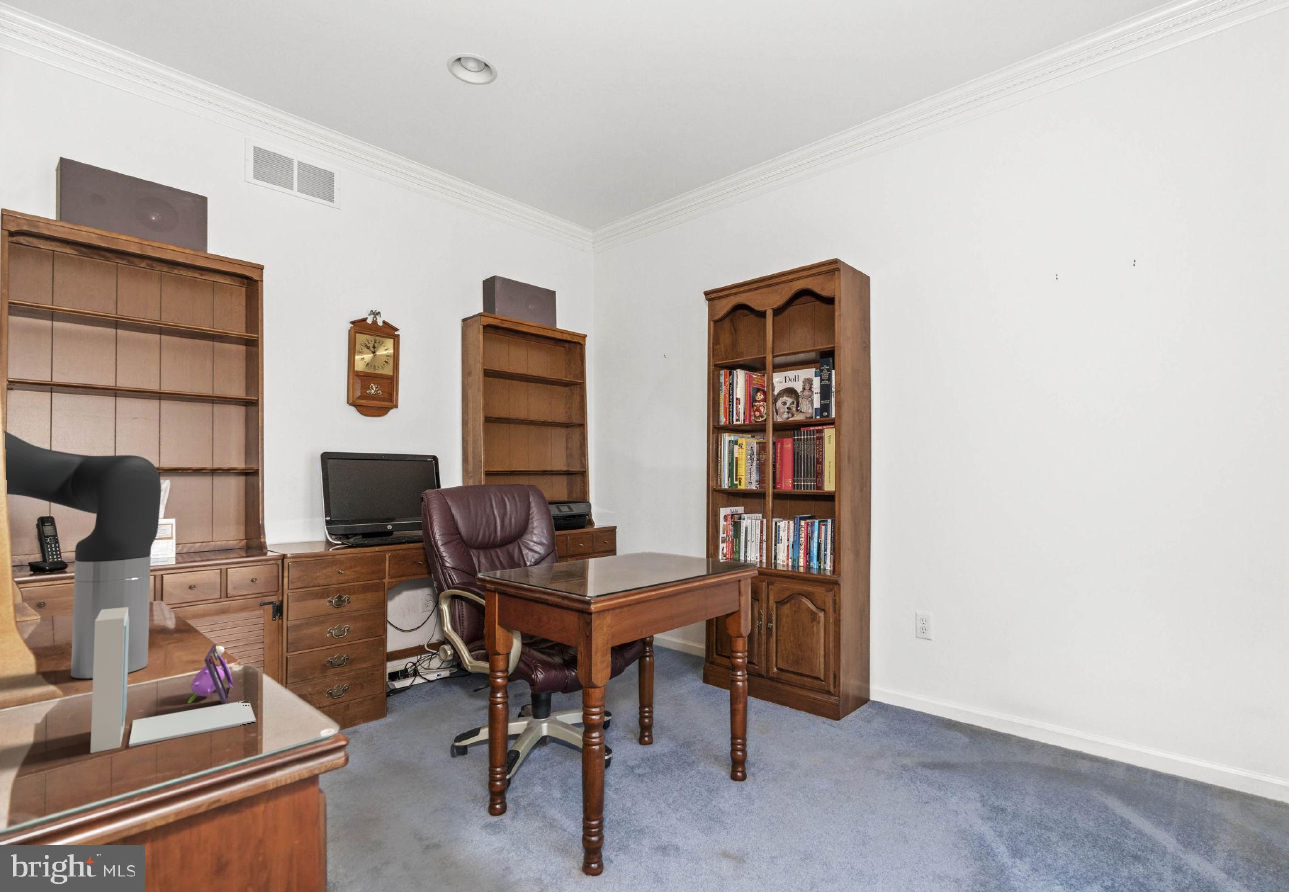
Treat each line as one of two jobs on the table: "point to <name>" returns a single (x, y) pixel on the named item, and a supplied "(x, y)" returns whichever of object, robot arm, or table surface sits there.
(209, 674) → the purple frame
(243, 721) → the mat
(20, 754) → the table surface
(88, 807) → the table surface
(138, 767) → the table surface
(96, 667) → the off-white rectangular block
